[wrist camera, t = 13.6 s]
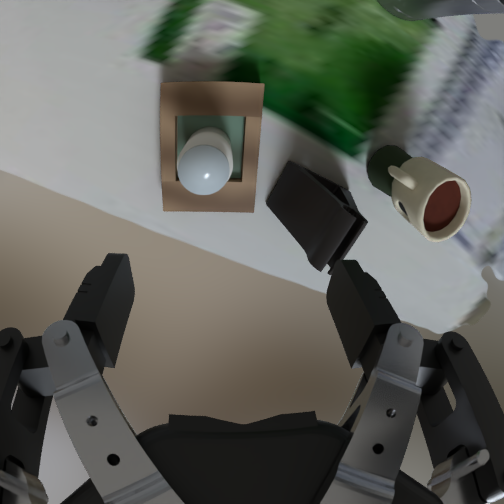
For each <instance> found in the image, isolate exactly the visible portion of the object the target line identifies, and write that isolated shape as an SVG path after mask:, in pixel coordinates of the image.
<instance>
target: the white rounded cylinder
mask: <svg viewBox="0 0 504 504" xmlns="http://www.w3.org/2000/svg"><path fill="white" fill-rule="evenodd" d="M232 170H233V158H232V146H231V141H230V138H229V137H228V135H227V134H226V133H225V132H224V131H223V130H221V129H219V128H217V127H213V126H207V127H202V128H200V129H198V130H196V131H195V132H194V133H193V134H192V135H191V137H190V138H189V140H188V141H187V143H186V144H185V146H184V147H183V149H182V151H181V152H180V154H179V156H178V160H177V171H178V177H179V180H180V182H181V183H182V185H183V186H184V187H185V188H186V189H187V190H189V191H190V192H192V193H194V194H198V195H209V194H213V193H215V192H217V191H219V190H220V189H221V188H222V187H223V186H224V185H225V184H226V182H227V181H228V180H229V178H230V176H231V174H232Z"/></svg>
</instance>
